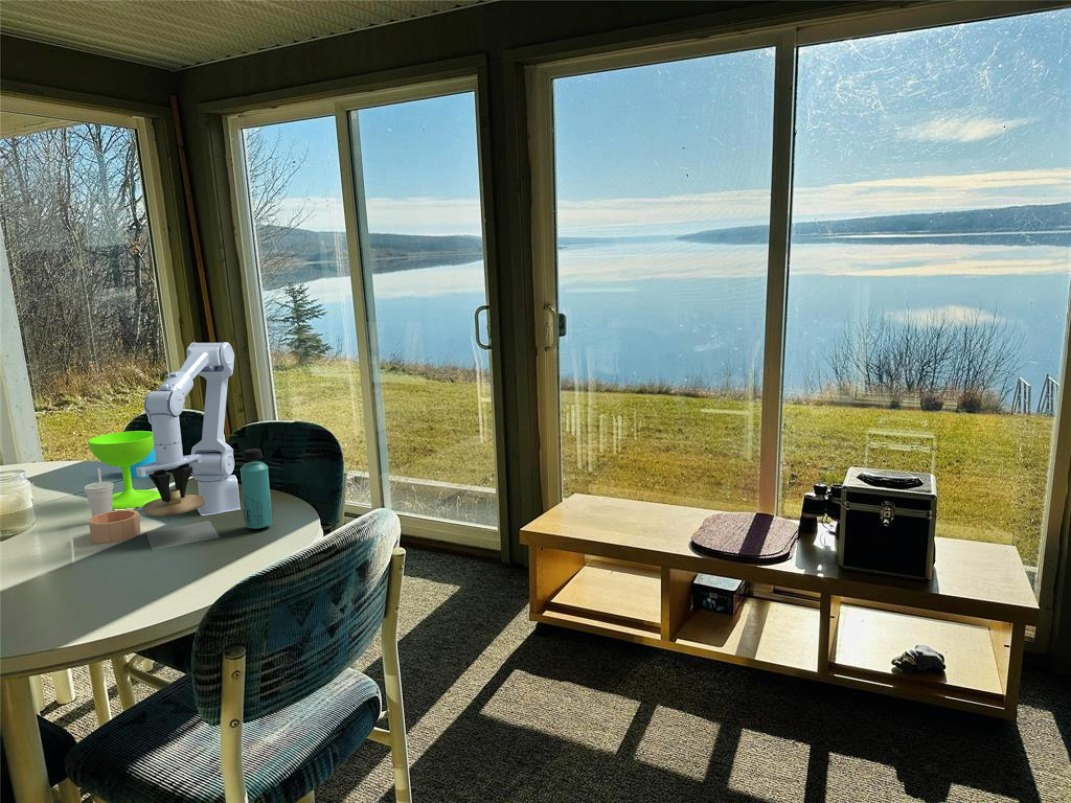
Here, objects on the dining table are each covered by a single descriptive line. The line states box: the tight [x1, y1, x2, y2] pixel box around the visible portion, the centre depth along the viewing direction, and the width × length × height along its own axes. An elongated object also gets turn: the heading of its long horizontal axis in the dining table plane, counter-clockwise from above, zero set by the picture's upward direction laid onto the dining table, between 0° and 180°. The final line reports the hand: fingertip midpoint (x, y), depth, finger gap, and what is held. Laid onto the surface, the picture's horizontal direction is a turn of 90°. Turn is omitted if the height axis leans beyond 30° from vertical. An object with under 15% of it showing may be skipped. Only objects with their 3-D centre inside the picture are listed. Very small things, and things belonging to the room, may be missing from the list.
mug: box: [130, 447, 156, 479], centre depth 222 cm, size 12×8×8 cm
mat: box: [145, 520, 221, 551], centre depth 167 cm, size 14×14×1 cm
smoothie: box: [83, 467, 115, 517], centre depth 177 cm, size 6×6×14 cm
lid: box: [142, 488, 205, 516], centre depth 165 cm, size 13×13×4 cm
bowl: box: [88, 509, 142, 544], centre depth 167 cm, size 10×10×5 cm
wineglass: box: [87, 430, 161, 510], centre depth 193 cm, size 16×16×18 cm
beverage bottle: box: [239, 448, 274, 529], centre depth 169 cm, size 6×7×20 cm
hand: (173, 499), depth 166 cm, fingers closed on lid, 3 cm apart
